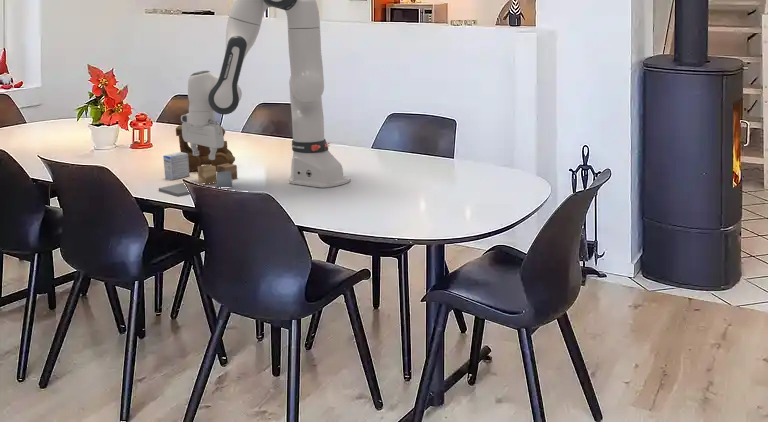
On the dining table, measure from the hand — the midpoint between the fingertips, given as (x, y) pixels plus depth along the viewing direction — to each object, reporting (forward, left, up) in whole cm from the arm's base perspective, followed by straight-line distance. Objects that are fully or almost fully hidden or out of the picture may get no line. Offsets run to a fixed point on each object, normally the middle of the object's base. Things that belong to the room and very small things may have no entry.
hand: (204, 157), depth 305 cm
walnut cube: (0, -9, -9) cm, 13 cm away
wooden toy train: (+20, -15, -9) cm, 26 cm away
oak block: (0, -1, -9) cm, 9 cm away
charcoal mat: (-3, +12, -9) cm, 15 cm away
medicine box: (+16, +1, -9) cm, 18 cm away
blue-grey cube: (-10, -1, -9) cm, 14 cm away
